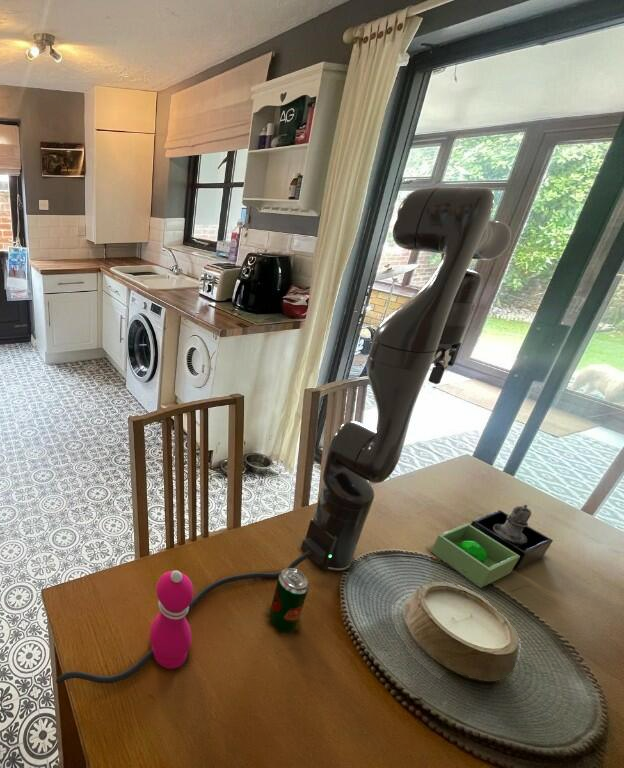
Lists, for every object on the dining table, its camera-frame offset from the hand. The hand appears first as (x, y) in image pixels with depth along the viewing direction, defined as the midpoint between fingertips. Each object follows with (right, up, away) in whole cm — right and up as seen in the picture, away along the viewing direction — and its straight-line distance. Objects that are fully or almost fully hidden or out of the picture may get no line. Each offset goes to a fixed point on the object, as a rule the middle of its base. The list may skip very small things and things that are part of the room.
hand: (421, 385), depth 97 cm
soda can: (-41, -45, -18) cm, 64 cm away
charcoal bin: (+18, -38, -2) cm, 42 cm away
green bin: (+6, -39, -6) cm, 40 cm away
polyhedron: (+6, -39, -6) cm, 40 cm away
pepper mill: (-63, -48, -23) cm, 83 cm away
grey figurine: (+18, -37, -2) cm, 41 cm away
